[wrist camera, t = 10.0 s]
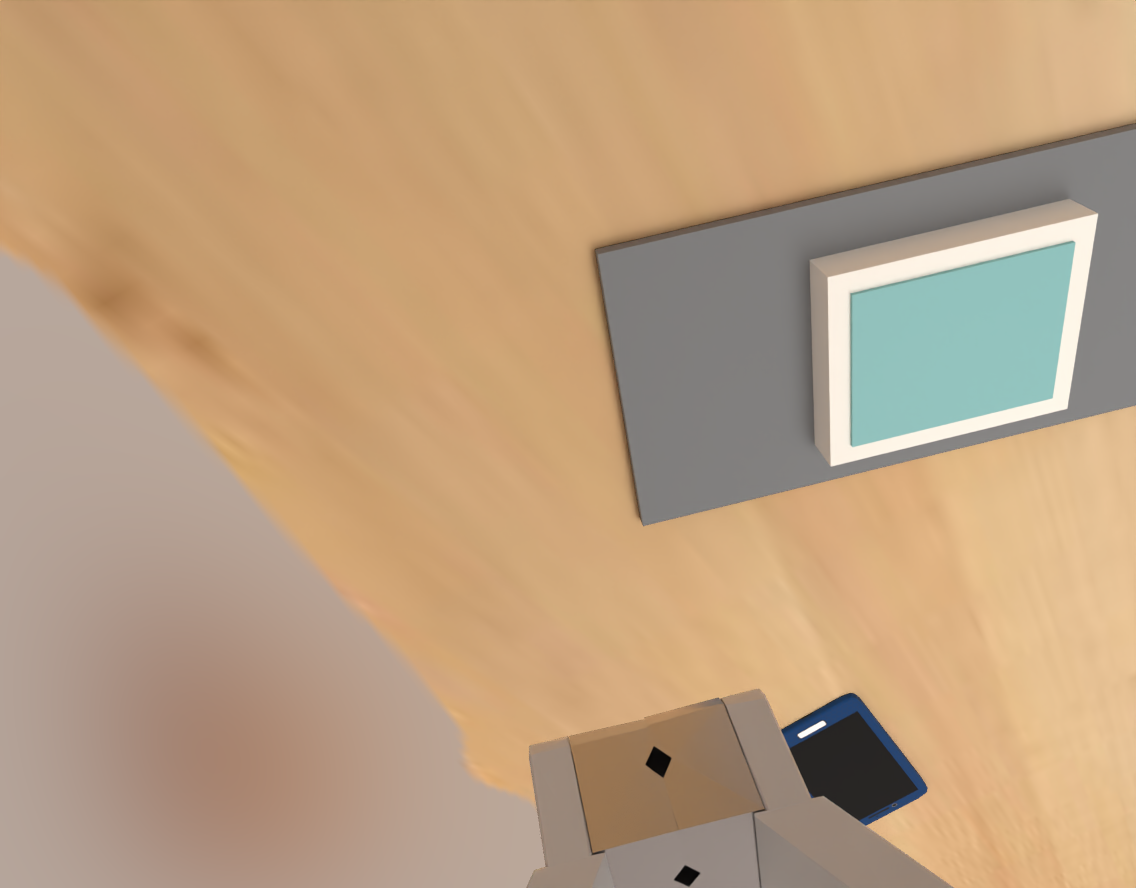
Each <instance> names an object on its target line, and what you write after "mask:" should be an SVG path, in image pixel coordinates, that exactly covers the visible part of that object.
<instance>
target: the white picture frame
mask: <svg viewBox="0 0 1136 888" xmlns="http://www.w3.org/2000/svg"><path fill="white" fill-rule="evenodd" d="M1097 218H1098V213H1096V212H1094V211H1092V210H1090V209H1088V208H1086V207H1084V206H1083V205H1081V204H1079V203H1077V202H1075V201H1073V200H1071V199H1066V200H1062V201H1058V202H1053V203H1049V204H1045V205H1041V206H1036V207H1032V208H1028V209H1024V210H1019V211H1015V212H1011V213H1007V214H1002V215H998V216H994V217H990V218H985V219H981V220H977V221H973V222H968V223H964V224H960V225H956V226H951V227H947V228H943V229H939V230H934V231H930V232H926V233H922V234H918V235H913V236H909V237H905V238H901V239H896V240H892V241H888V242H884V243H879V244H875V245H871V246H867V247H862V248H858V249H854V250H850V251H845V252H841V253H837V254H833V255H828V256H824V257H820V258H816V259H811V260H810V293H811V328H812V364H813V400H814V436H815V445H816V447H817V448H818V450H819V451H820V452H821V454H822V455H823V457H824V458H825V459H826V461H827V462H828V464H829V465H830V466H835V465H840V464H844V463H848V462H852V461H856V460H860V459H864V458H868V457H872V456H876V455H880V454H885V453H889V452H893V451H897V450H901V449H905V448H909V447H913V446H917V445H921V444H925V443H930V442H934V441H938V440H942V439H946V438H950V437H954V436H958V435H962V434H966V433H970V432H975V431H979V430H983V429H987V428H991V427H995V426H999V425H1003V424H1007V423H1011V422H1015V421H1019V420H1024V419H1028V418H1032V417H1036V416H1040V415H1044V414H1048V413H1052V412H1056V411H1060V410H1064V409H1067V407H1068V401H1069V394H1070V388H1071V382H1072V376H1073V369H1074V363H1075V357H1076V350H1077V344H1078V338H1079V331H1080V325H1081V319H1082V312H1083V306H1084V300H1085V294H1086V287H1087V281H1088V275H1089V268H1090V262H1091V256H1092V249H1093V243H1094V237H1095V231H1096V224H1097Z"/></svg>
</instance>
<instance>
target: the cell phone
mask: <svg viewBox="0 0 1136 888" xmlns="http://www.w3.org/2000/svg"><path fill="white" fill-rule="evenodd" d="M781 731H782V734H783V736H784V738H785V740H786V743H787V745H788V747H789V749H790V751H791V754H792V756H793V758H794V760H795V763H796V765H797V767H798V769H799V772H800V774H801V776H802V778H803V780H804V783H805V785H806V787H807V789H808V792H809V794H810V796H811V798H816V797H821V796H824V797H826V798H827V799H828V800H830V801H831V802H833V803H834V804H835V805H837V806H838V807H840V808H841V809H843V810H844V811H845V812H847V813H848V814H850V815H851V816H853V817H854V818H855V819H857V820H858V821H860V822H861V823H863V824H864V825H865V826H866V825H868V824H870V823H872V822H874V821H876V820H878V819H880V818H882V817H883V816H885V815H887V814H889V813H891V812H893V811H895V810H897V809H899V808H901V807H903V806H905V805H906V804H908V803H910V802H912V801H914V800H916V799H918V798H919V797H921V796H922V795H923V794H925V793H926V792H927V786H926V784H925V783H924V781H923V779H922V778H921V776H920V775H919V774H918V772H917V771H916V770H915V768H914V767H913V766H912V765H911V763H910V762H909V761H908V759H907V758H906V757H905V756H904V754H903V753H902V752H901V750H900V749H899V748H898V746H897V745H896V744H895V743H894V741H893V740H892V739H891V737H890V736H889V735H888V734H887V732H886V731H885V730H884V728H883V727H882V726H881V725H880V723H879V722H878V721H877V719H876V718H875V717H874V716H873V714H872V713H871V712H870V710H869V709H868V708H867V707H866V705H865V704H864V703H863V701H862V700H861V699H860V698H859V697H858V696H857V695H856V694H854V693H849V694H846V695H843V696H841V697H839V698H837V699H835V700H833V701H832V702H830V703H828V704H826V705H825V706H823V707H821V708H819V709H817V710H816V711H814V712H812V713H810V714H808V715H807V716H805V717H803V718H801V719H800V720H798V721H796V722H794V723H792V724H791V725H789V726H787V727H785V728H783V729H782V730H781Z"/></svg>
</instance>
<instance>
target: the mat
mask: <svg viewBox="0 0 1136 888" xmlns="http://www.w3.org/2000/svg"><path fill="white" fill-rule="evenodd" d="M1066 199H1071V200H1073V201H1075V202H1077V203H1079V204H1081V205H1083V206H1084V207H1086V208H1088V209H1090V210H1092V211H1094V212H1096V213H1098V218H1097V224H1096V231H1095V237H1094V243H1093V249H1092V256H1091V262H1090V268H1089V275H1088V281H1087V287H1086V294H1085V300H1084V306H1083V312H1082V319H1081V325H1080V331H1079V338H1078V344H1077V350H1076V357H1075V363H1074V369H1073V376H1072V382H1071V388H1070V394H1069V401H1068V407H1067V409H1064V410H1060V411H1056V412H1052V413H1048V414H1044V415H1040V416H1036V417H1032V418H1028V419H1024V420H1019V421H1015V422H1011V423H1007V424H1003V425H999V426H995V427H991V428H987V429H983V430H979V431H975V432H970V433H966V434H962V435H958V436H954V437H950V438H946V439H942V440H938V441H934V442H930V443H925V444H921V445H917V446H913V447H909V448H905V449H901V450H897V451H893V452H889V453H885V454H880V455H876V456H872V457H868V458H864V459H860V460H856V461H852V462H848V463H844V464H840V465H835V466H830V465H829V464H828V462H827V461H826V459H825V458H824V457H823V455H822V454H821V452H820V451H819V450H818V448H817V447H816V445H815V436H814V400H813V364H812V328H811V293H810V260H811V259H816V258H820V257H824V256H828V255H833V254H837V253H841V252H845V251H850V250H854V249H858V248H862V247H867V246H871V245H875V244H879V243H884V242H888V241H892V240H896V239H901V238H905V237H909V236H913V235H918V234H922V233H926V232H930V231H934V230H939V229H943V228H947V227H951V226H956V225H960V224H964V223H968V222H973V221H977V220H981V219H985V218H990V217H994V216H998V215H1002V214H1007V213H1011V212H1015V211H1019V210H1024V209H1028V208H1032V207H1036V206H1041V205H1045V204H1049V203H1053V202H1058V201H1062V200H1066ZM595 252H596V258H597V264H598V270H599V276H600V282H601V288H602V294H603V300H604V306H605V312H606V317H607V323H608V329H609V335H610V341H611V347H612V353H613V359H614V365H615V371H616V377H617V383H618V388H619V394H620V400H621V406H622V412H623V418H624V424H625V430H626V436H627V442H628V448H629V454H630V459H631V465H632V471H633V477H634V483H635V489H636V495H637V501H638V507H639V513H640V519H641V521H642V524H643V526H645V525H649V524H654V523H658V522H662V521H666V520H670V519H674V518H678V517H682V516H686V515H690V514H694V513H698V512H702V511H707V510H711V509H715V508H719V507H723V506H727V505H731V504H735V503H739V502H743V501H747V500H751V499H755V498H760V497H764V496H768V495H772V494H776V493H780V492H784V491H788V490H792V489H796V488H800V487H804V486H809V485H813V484H817V483H821V482H825V481H829V480H833V479H837V478H841V477H845V476H849V475H853V474H857V473H862V472H866V471H870V470H874V469H878V468H882V467H886V466H890V465H894V464H898V463H902V462H906V461H911V460H915V459H919V458H923V457H927V456H931V455H935V454H939V453H943V452H947V451H951V450H955V449H959V448H964V447H968V446H972V445H976V444H980V443H984V442H988V441H992V440H996V439H1000V438H1004V437H1008V436H1012V435H1017V434H1021V433H1025V432H1029V431H1033V430H1037V429H1041V428H1045V427H1049V426H1053V425H1057V424H1061V423H1066V422H1070V421H1074V420H1078V419H1082V418H1086V417H1090V416H1094V415H1098V414H1102V413H1106V412H1110V411H1114V410H1119V409H1123V408H1127V407H1131V406H1135V405H1136V124H1131V125H1127V126H1123V127H1118V128H1114V129H1110V130H1105V131H1101V132H1097V133H1093V134H1088V135H1084V136H1080V137H1075V138H1071V139H1067V140H1063V141H1058V142H1054V143H1050V144H1045V145H1041V146H1037V147H1032V148H1028V149H1024V150H1020V151H1015V152H1011V153H1007V154H1002V155H998V156H994V157H990V158H985V159H981V160H977V161H972V162H968V163H964V164H959V165H955V166H951V167H947V168H942V169H938V170H934V171H929V172H925V173H921V174H917V175H912V176H908V177H904V178H899V179H895V180H891V181H886V182H882V183H878V184H874V185H869V186H865V187H861V188H856V189H852V190H848V191H844V192H839V193H835V194H831V195H826V196H822V197H818V198H813V199H809V200H805V201H801V202H796V203H792V204H788V205H783V206H779V207H775V208H771V209H766V210H762V211H758V212H753V213H749V214H745V215H740V216H736V217H732V218H728V219H723V220H719V221H715V222H710V223H706V224H702V225H698V226H693V227H689V228H685V229H680V230H676V231H672V232H667V233H663V234H659V235H655V236H650V237H646V238H642V239H637V240H633V241H629V242H625V243H620V244H616V245H612V246H607V247H603V248H599V249H595Z"/></svg>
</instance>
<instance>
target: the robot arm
mask: <svg viewBox="0 0 1136 888" xmlns="http://www.w3.org/2000/svg"><path fill="white" fill-rule="evenodd" d="M644 718H645V719H643V720H639V721H634V722H630V723H625V724H621V725H616V726H612V727H607V728H603V729H598V730H594V731H589V732H585V733H580V734H576V735H572V736H569V737H568V736H567V737H563V738H559V739H555V740H551V741H547V742H542V743H538V744H534V745H530V746H529V760H530V767H531V774H532V780H533V787H534V793H535V800H536V807H537V813H538V819H539V826H540V833H541V839H542V846H543V853H544V859H545V865H546V867H544V868H540V869H537V870H534V872H533V874H532V876H531V879H530V881H529V883H528V885H527V888H954V887H952V886H951V885H949V884H948V883H946V882H945V881H944V880H942V879H941V878H939V877H938V876H936V875H935V874H934V873H932V872H931V871H929V870H928V869H927V868H925V867H924V866H922V865H921V864H919V863H918V862H917V861H915V860H914V859H912V858H911V857H909V856H908V855H907V854H905V853H904V852H902V851H901V850H900V849H898V848H897V847H895V846H894V845H892V844H891V843H890V842H888V841H887V840H885V839H884V838H882V837H881V836H880V835H878V834H877V833H875V832H874V831H872V830H871V829H870V828H868V827H867V826H865V825H864V824H863V823H861V822H860V821H858V820H857V819H855V818H854V817H853V816H851V815H850V814H848V813H847V812H845V811H844V810H843V809H841V808H840V807H838V806H837V805H835V804H834V803H833V802H831V801H830V800H828V799H827V798H826V797H824V796H821V797H816V798H811V796H810V794H809V792H808V789H807V787H806V785H805V783H804V780H803V778H802V776H801V774H800V772H799V769H798V767H797V765H796V763H795V760H794V758H793V756H792V754H791V751H790V749H789V747H788V745H787V743H786V740H785V738H784V736H783V734H782V731H781V729H780V727H779V725H778V723H777V720H776V718H775V716H774V714H773V711H772V709H771V707H770V705H769V703H768V700H767V698H766V696H765V694H764V693H763V692H762V691H761V690H760V689H754V690H750V691H746V692H743V693H739V694H735V695H731V696H727V697H723V698H721V699H719V698H715V699H712V700H708V701H704V702H700V703H697V704H693V705H689V706H685V707H682V708H678V709H674V710H670V711H667V712H663V713H659V714H655V715H652V716H648V717H644ZM569 738H570V739H569Z"/></svg>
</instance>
